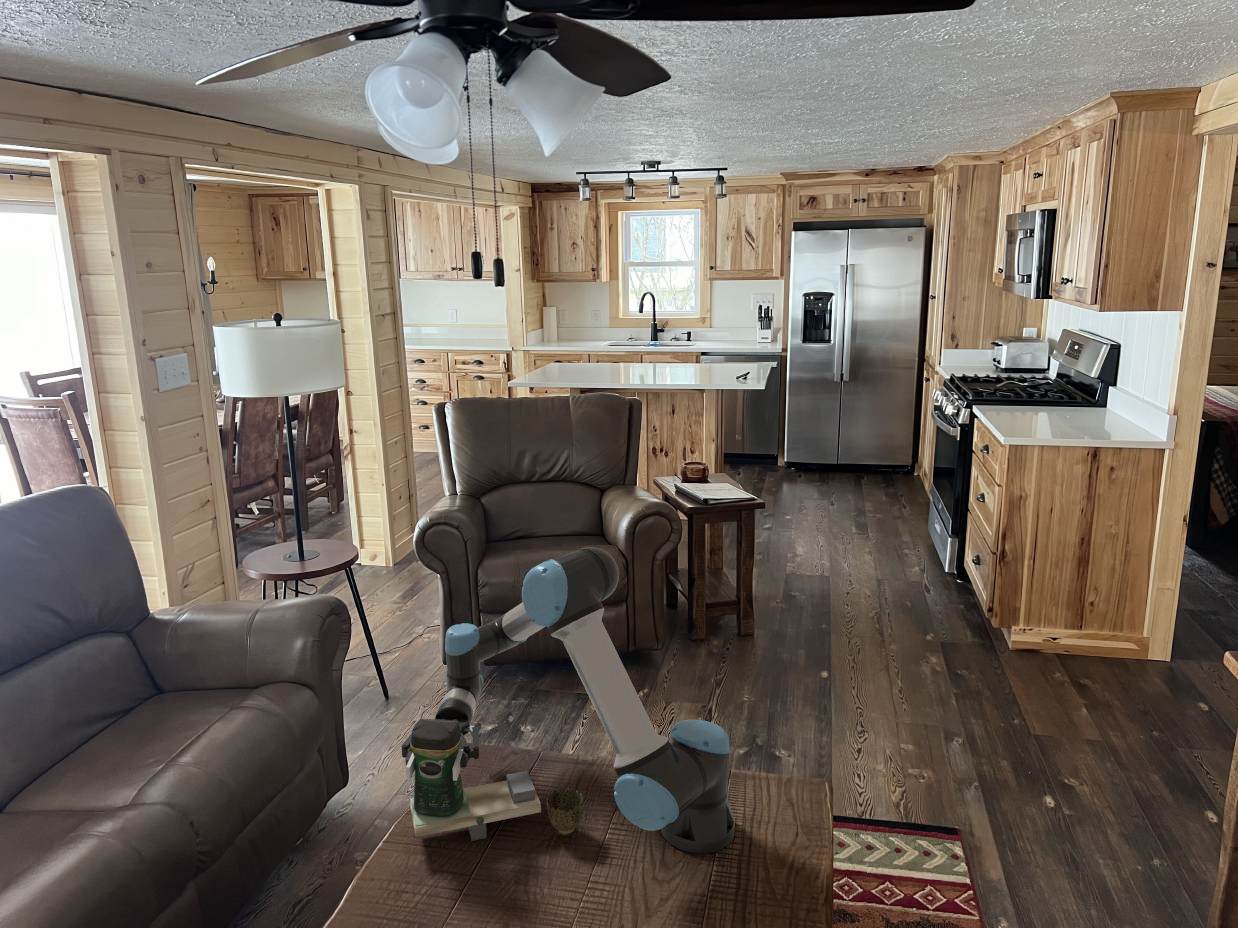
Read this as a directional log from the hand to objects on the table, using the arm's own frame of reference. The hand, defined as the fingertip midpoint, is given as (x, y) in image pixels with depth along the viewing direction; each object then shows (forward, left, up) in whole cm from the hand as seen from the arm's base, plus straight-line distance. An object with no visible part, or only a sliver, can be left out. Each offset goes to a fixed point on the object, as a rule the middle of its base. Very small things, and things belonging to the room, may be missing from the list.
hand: (431, 773), depth 166 cm
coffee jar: (+4, -2, -11) cm, 12 cm away
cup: (-3, -26, -17) cm, 31 cm away
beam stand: (+4, -9, -17) cm, 20 cm away
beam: (+4, -9, -12) cm, 15 cm away
